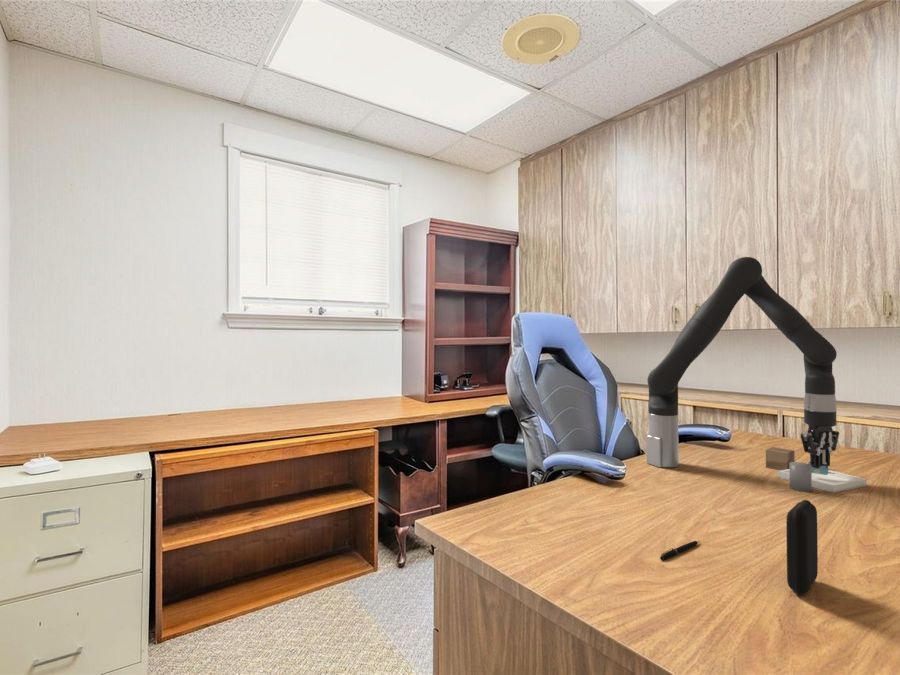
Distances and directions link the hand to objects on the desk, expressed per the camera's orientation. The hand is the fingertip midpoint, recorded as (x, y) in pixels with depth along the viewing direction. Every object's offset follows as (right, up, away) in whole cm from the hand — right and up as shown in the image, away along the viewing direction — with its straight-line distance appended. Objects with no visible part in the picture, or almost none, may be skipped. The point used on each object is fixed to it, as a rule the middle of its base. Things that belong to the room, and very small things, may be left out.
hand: (820, 466), depth 137 cm
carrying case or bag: (-48, -6, -56) cm, 74 cm away
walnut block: (-2, -5, +14) cm, 15 cm away
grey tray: (0, -5, 0) cm, 5 cm away
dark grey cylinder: (-10, -5, -6) cm, 13 cm away
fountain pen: (-62, -6, -42) cm, 76 cm away
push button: (0, -2, 0) cm, 2 cm away
